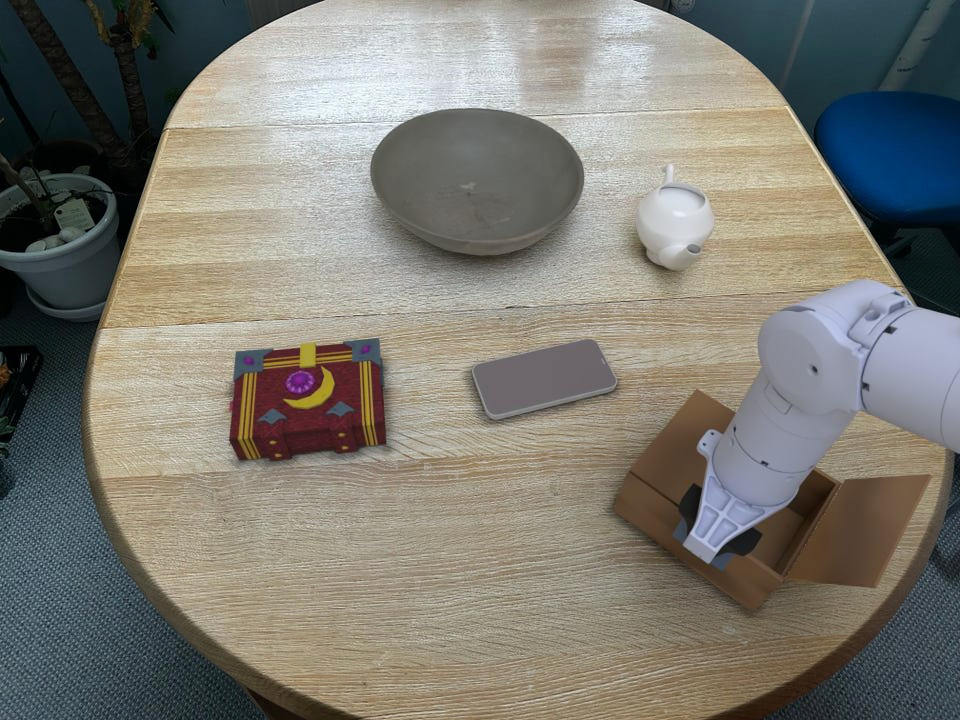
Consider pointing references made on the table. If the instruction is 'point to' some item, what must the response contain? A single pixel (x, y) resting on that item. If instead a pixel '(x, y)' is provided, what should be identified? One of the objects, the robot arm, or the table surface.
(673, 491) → the carton
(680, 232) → the teapot
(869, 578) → the flap
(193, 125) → the table surface
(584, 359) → the smartphone
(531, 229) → the bowl
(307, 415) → the decorative book
